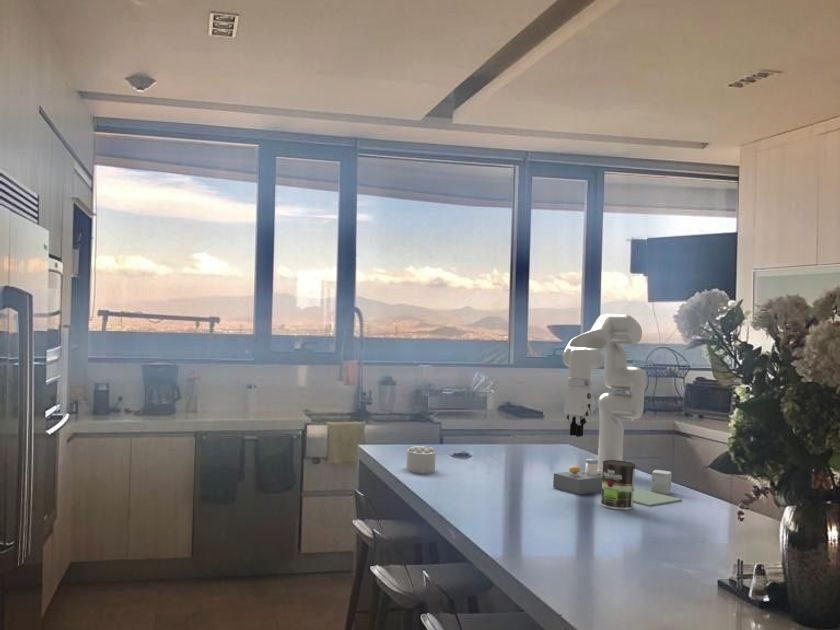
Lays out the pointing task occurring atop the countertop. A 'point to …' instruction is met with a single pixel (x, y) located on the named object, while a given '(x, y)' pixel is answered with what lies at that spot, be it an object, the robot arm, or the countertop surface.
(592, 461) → the cartridge
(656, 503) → the mat
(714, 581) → the countertop surface
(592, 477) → the block
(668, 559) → the countertop surface
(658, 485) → the product box
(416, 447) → the lumpy-topped squat cylinder
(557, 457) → the countertop surface
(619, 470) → the coffee can
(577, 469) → the orange egg
